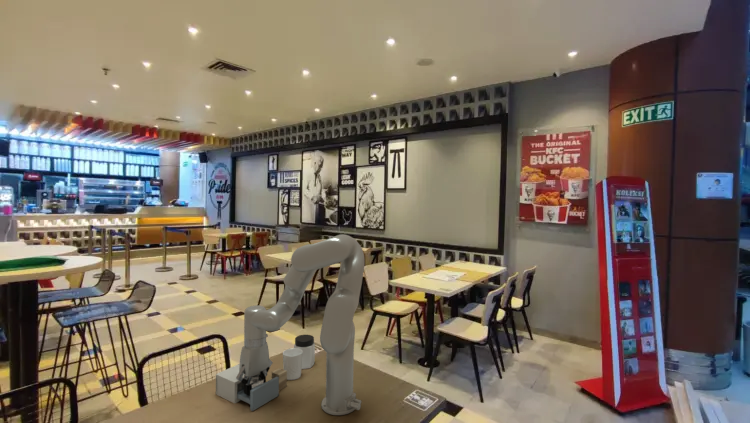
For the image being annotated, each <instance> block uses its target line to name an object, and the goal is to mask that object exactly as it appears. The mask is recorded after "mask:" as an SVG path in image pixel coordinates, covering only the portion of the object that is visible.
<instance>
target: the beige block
mask: <svg viewBox="0 0 750 423" xmlns="http://www.w3.org/2000/svg"><path fill="white" fill-rule="evenodd" d="M275 377H279V391H281V390H283V389H285V388H286V387H287V386H288V382H287V381H288V380H287V371H286V370H284V368H281V367H279V368H277V369H275V370H273V371H271V379H273V378H275Z"/></svg>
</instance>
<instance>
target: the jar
mask: <svg viewBox="0 0 750 423" xmlns="http://www.w3.org/2000/svg"><path fill="white" fill-rule="evenodd" d="M315 344H316V343H315V337H314V336H313V334H300V335H297V336H296V337H295V338H294V345H293V348H298V349H301V350H302V351H303V352H302V369H301V370H307V369H311V368H312V367H313V366H314V365H315V360H316V359H315V358H316V357H315V356H316V355H315V354H316V353H315V352H316V351H315V349H316V348H315V346H316V345H315Z"/></svg>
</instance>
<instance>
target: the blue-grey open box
mask: <svg viewBox="0 0 750 423" xmlns="http://www.w3.org/2000/svg"><path fill="white" fill-rule="evenodd" d="M279 392H280V390H279V377H275V378H273V379H272V378H270V379H269V380H267V381H266V382H265V383H263V384H261V385H260V386H258V387H256V388H254V389H252V390H250V396H248V395H246V394H244V389H242V390H240V391H238V392H237V398H238V399H240V401H243V402H245V403H247V404H249V405H250V408H249V410H250V411H252V412H253V411H255V410H257V409H259V408H260V407H262V406H263V405H265V404H267V403H269V402H271V400H274V399H275V398H277V397H279V395H280V393H279Z"/></svg>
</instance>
